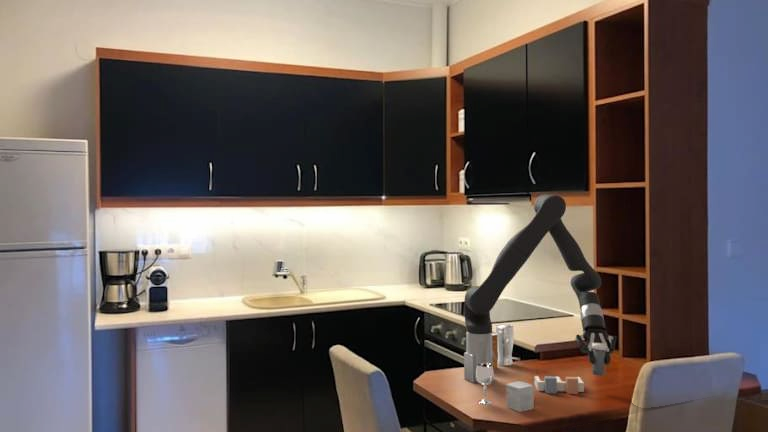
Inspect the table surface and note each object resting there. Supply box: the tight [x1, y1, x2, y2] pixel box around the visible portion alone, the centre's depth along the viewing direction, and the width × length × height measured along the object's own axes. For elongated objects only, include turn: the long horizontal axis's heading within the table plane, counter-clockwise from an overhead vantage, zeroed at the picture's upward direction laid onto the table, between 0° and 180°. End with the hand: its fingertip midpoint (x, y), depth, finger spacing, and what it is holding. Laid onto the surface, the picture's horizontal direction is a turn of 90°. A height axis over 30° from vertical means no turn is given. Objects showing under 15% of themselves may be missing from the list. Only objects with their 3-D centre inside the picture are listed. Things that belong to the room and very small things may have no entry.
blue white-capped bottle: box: [591, 342, 608, 377], centre depth 204 cm, size 5×5×10 cm
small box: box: [492, 332, 498, 370], centre depth 236 cm, size 8×6×13 cm
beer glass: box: [495, 323, 515, 367], centre depth 240 cm, size 7×7×15 cm
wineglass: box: [476, 363, 495, 405], centre depth 196 cm, size 6×6×12 cm
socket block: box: [533, 375, 585, 395], centre depth 209 cm, size 11×15×5 cm
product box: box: [506, 380, 535, 413], centre depth 190 cm, size 6×6×7 cm
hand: (600, 363), depth 202 cm, fingers closed on blue white-capped bottle, 4 cm apart
